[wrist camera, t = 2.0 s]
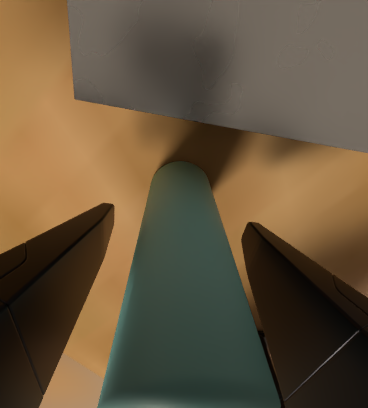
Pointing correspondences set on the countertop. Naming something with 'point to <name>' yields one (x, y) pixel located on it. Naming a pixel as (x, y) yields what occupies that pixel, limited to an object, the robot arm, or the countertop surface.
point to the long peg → (185, 310)
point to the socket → (230, 63)
